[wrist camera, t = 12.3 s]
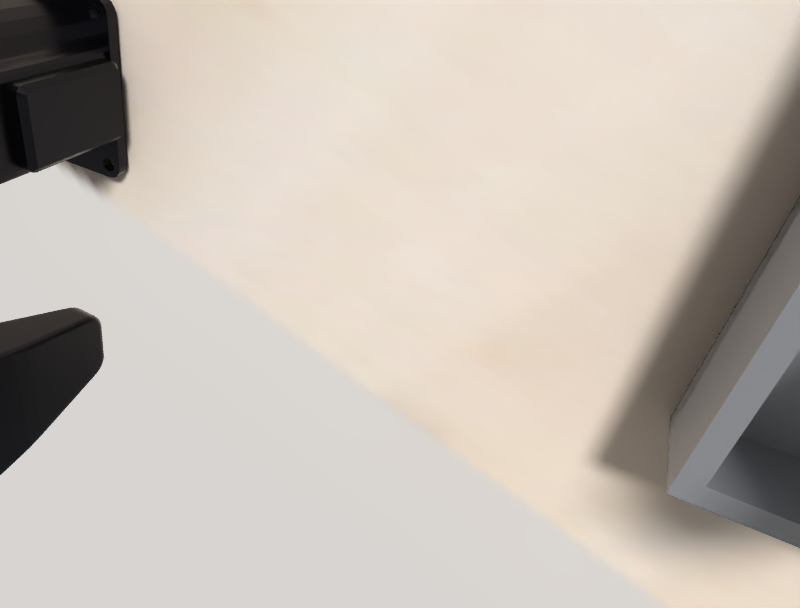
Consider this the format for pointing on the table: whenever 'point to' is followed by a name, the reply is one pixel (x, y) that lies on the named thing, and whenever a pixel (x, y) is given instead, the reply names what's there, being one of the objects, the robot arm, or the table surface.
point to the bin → (748, 405)
